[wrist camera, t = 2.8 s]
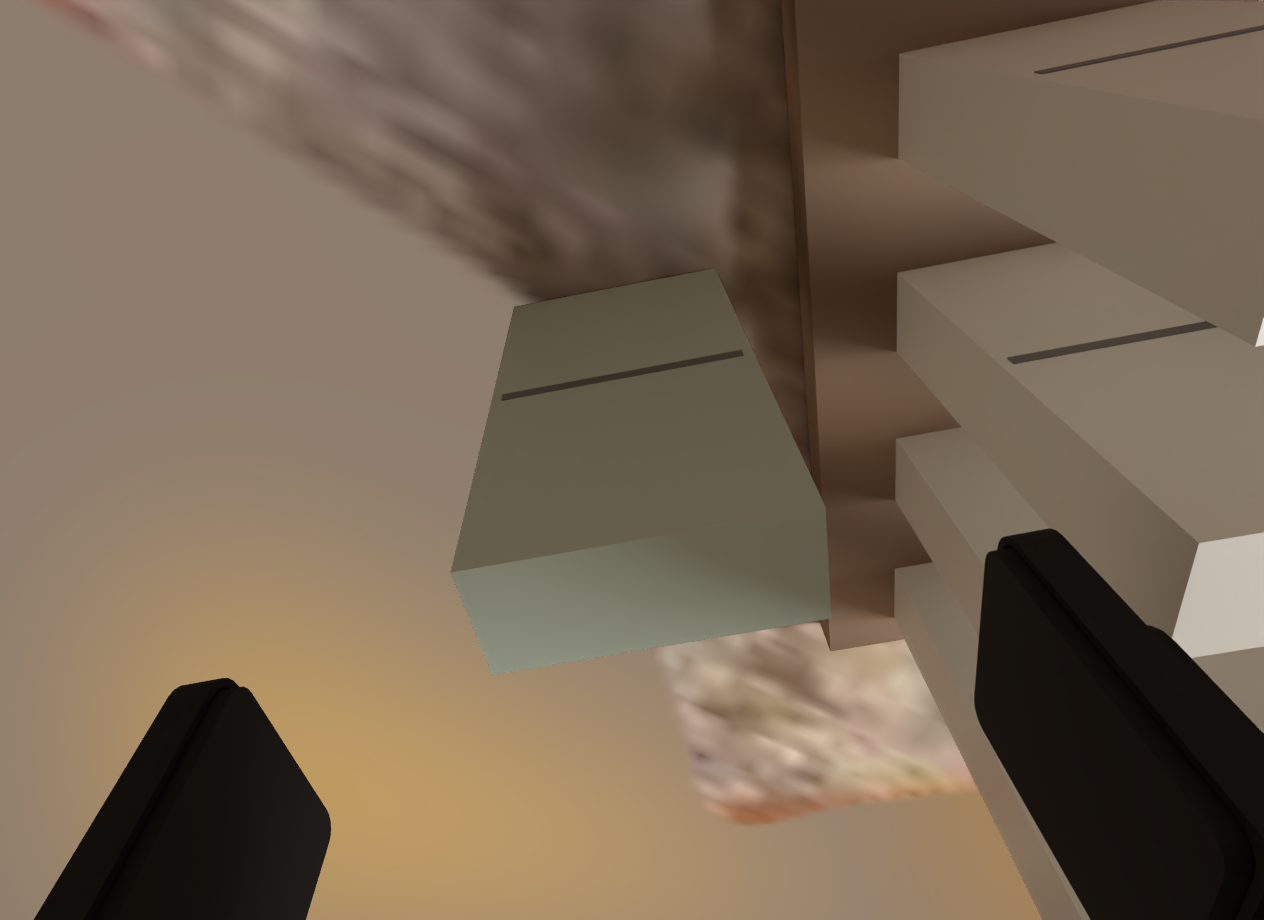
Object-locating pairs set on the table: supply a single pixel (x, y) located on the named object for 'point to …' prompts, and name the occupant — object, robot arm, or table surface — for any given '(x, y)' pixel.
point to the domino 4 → (976, 728)
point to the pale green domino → (635, 484)
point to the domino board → (876, 267)
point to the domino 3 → (991, 509)
